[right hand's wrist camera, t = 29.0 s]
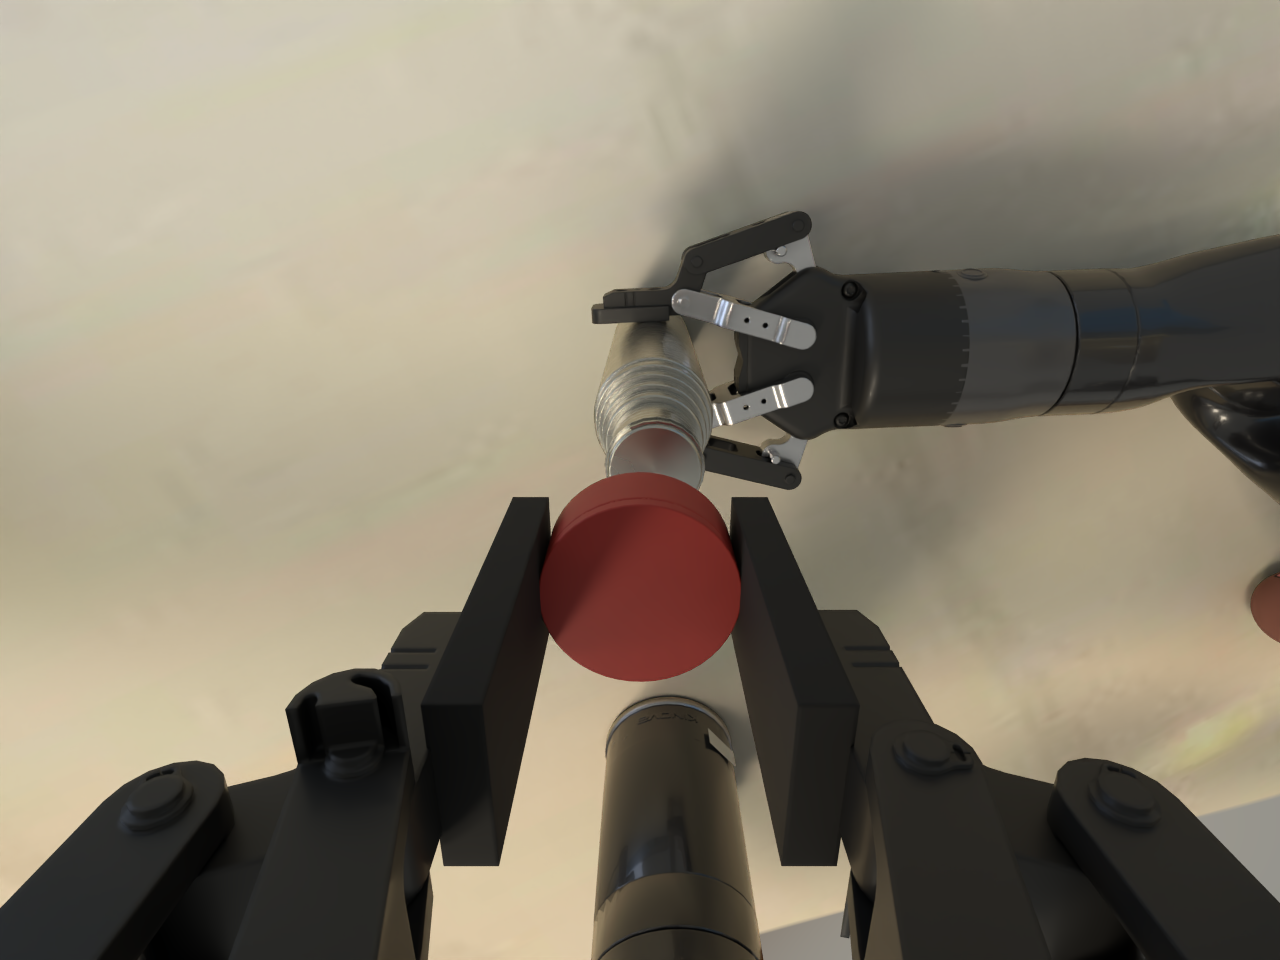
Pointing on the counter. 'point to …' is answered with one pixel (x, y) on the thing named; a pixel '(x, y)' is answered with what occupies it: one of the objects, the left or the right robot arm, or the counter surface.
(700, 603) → the cap
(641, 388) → the bottle
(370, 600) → the counter surface
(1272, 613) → the black wheeled cart
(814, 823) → the right robot arm
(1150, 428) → the counter surface
